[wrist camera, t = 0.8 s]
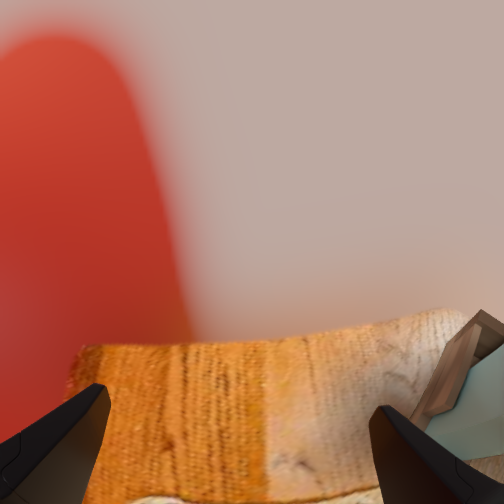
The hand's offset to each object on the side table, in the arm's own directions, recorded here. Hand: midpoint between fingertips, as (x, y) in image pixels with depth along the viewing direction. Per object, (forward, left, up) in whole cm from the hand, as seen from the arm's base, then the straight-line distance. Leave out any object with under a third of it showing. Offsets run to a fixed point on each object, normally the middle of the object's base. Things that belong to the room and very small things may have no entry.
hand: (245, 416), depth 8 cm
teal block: (-10, -10, -11) cm, 18 cm away
